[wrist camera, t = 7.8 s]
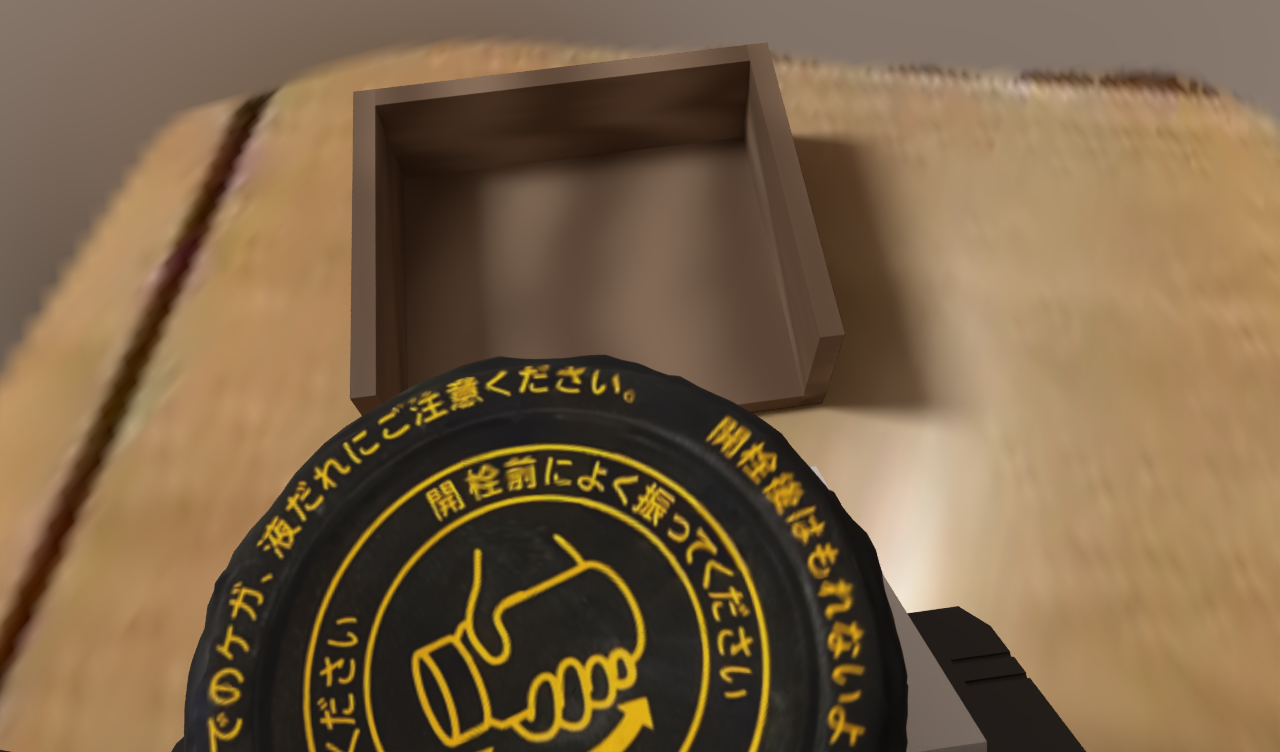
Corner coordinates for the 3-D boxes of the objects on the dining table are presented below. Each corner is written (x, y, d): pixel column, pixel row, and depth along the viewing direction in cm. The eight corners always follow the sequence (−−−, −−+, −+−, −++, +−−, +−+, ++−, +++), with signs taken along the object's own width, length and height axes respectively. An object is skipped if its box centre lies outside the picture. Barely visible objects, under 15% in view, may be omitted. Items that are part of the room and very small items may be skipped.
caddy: (756, 133, 40) (767, 42, 36) (822, 402, 34) (844, 334, 30) (389, 178, 40) (353, 91, 35) (392, 459, 34) (349, 398, 29)
